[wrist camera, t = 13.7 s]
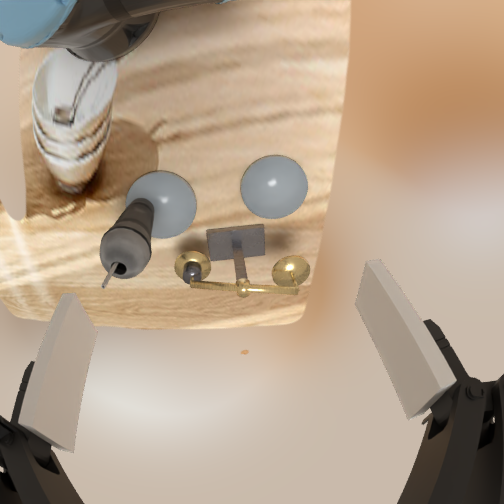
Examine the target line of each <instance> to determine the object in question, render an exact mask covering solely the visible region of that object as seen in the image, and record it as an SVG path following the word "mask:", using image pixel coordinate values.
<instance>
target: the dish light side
mask: <svg viewBox="0 0 504 504" xmlns="http://www.w3.org/2000/svg"><path fill="white" fill-rule="evenodd" d="M307 190H308V182H307V178H306V175H305V173H304V171H303V170H302V168H301V167H300V166H299V165H298V164H297V163H296V162H295V161H293V160H292V159H290V158H288V157H285V156H280V155H271V156H266V157H263V158H260V159H259V160H257V161H255V162H254V163H253V164H252V165H250V166H249V168H248V169H247V170H246V172H245V173H244V175H243V178H242V181H241V194H242V198H243V201H244V203H245V205H246V206H247V208H248V209H249V210H250V211H251V212H252V213H254V214H255V215H257V216H260V217H263V218H267V219H277V218H282V217H285V216H288V215H289V214H291V213H293V212H294V211H296V210H297V209H298V208H299V207H300V206H301V204H302V203H303V201H304V199H305V197H306V194H307Z"/></svg>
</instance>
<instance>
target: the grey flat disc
mask: <svg viewBox="0 0 504 504" xmlns="http://www.w3.org/2000/svg"><path fill="white" fill-rule="evenodd" d="M137 198H145V199H147V200H149V201H150V202H151V203H152V204H153V206H154V210H155V212H154V221H153V227H152V234H151V237H154V238H171V237H174V236H177V235H179V234H181V233H183V232H184V231H185V230H186V229H187V228H188V227H189V226H190V225H191V223H192V222H193V220H194V217H195V213H196V197H195V194H194V191H193V189H192V188H191V186H190V185H189V184H188V182H187V181H186V180H184V179H183V178H182V177H180V176H179V175H177V174H174V173H171V172H167V171H153V172H149V173H147V174H145V175H143V176H141V177H140V178H138V179H137V180H136V181H135V182H134V184H133V185H132V187H131V188H130V190H129V192H128V194H127V198H126V208H127V207H128V205H129V204H130V203H131V202H132V201H133V200H134V199H137Z"/></svg>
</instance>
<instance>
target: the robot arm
mask: <svg viewBox="0 0 504 504" xmlns="http://www.w3.org/2000/svg"><path fill="white" fill-rule="evenodd" d="M228 1H234V0H0V40H1V41H2V42H4V43H6V44H7V45H11V46H17V47H21V48H27V49H29V48H34V47H56V48H66V49H67V50H68V51H69V52H70V53H71V54H72V55H74V56H75V57H77V58H79V59H82V60H85V61H92V62H104V61H110V60H114V59H117V58H119V57H122V56H124V55H126V54H127V53H129V52H131V51H132V50H134V49H135V48H136V47H138V46H139V45H140V44H141V43H142V42H143V41H144V40H145V39H146V38H147V36H148V35H149V34H150V32H151V31H152V29H153V27H154V25H155V23H156V21H157V18H158V14H159V12H160V11H165V10H170V9H175V8H181V7H187V6H194V5H201V4H210V3H215V4H222V3H226V2H228ZM355 306H356V307H357V309H358V311H359V313H360V316H361V317H362V320H363V322H364V324H365V326H366V328H367V330H368V332H369V334H370V336H371V338H372V340H373V342H374V344H375V346H376V348H377V350H378V352H379V355H380V357H381V359H382V361H383V363H384V365H385V368H386V370H387V372H388V374H389V377H390V379H391V381H392V383H393V386H394V388H395V390H396V393H397V395H398V397H399V400H400V401H401V404H402V407H403V409H404V412H405V414H406V416H407V419H408V420H410V419H413V418H415V417H417V416H420V415H422V414H424V413H425V412H426V411H427V410H428V409H429V408H430V409H431V411H432V413H431V414H429V415H428V416H427V417H426V418H425V419H424V420H423V422H422V424H425V423H426V422H427V421H428V424H427V427H426V431H425V434H424V437H423V440H422V443H421V446H420V449H419V452H418V455H417V458H416V461H415V463H414V466H413V468H412V471H411V473H410V476H409V478H408V481H407V483H406V485H405V488H404V490H403V492H402V494H401V496H400V499H399V501H398V503H397V504H504V374H503V375H502V376H501V377H500V378H499V379H498V380H497V381H490V382H481V381H480V380H478V379H476V378H471V377H469V376H468V374H467V373H466V371H465V369H464V368H463V366H462V364H461V362H460V360H459V359H458V357H457V355H456V353H455V352H454V350H453V349H452V347H451V346H450V343H449V342H448V340H447V339H445V335H444V334H443V332H442V331H441V329H440V327H439V326H438V325H436V324H435V323H434V322H433V321H432V320H431V319H429V320H425V321H422V319H421V318H420V316H419V315H418V313H417V311H416V310H415V308H414V307H413V305H412V304H411V302H410V301H409V299H408V298H407V296H406V295H405V293H404V292H403V290H402V289H401V287H400V286H399V284H398V283H397V282H396V280H395V279H394V277H393V276H392V275H391V273H390V272H389V270H388V269H387V268H386V266H385V265H384V263H383V262H382V260H381V259H377V260H370V261H366V264H365V268H364V272H363V276H362V280H361V284H360V288H359V291H358V295H357V298H356V302H355ZM97 333H98V331H97V330H96V328H95V326H94V325H93V323H92V321H91V320H90V318H89V316H88V315H87V313H86V311H85V310H84V308H83V306H82V304H81V302H80V301H79V299H78V297H77V295H76V293H64V294H62V296H61V298H60V300H59V303H58V305H57V307H56V309H55V312H54V314H53V316H52V319H51V321H50V324H49V326H48V329H47V331H46V333H45V336H44V339H43V341H42V344H41V347H40V349H39V352H38V355H37V358H36V361H35V362H33V361H31V362H30V364H29V365H28V367H27V368H26V370H25V372H24V375H23V378H22V383H21V385H20V388H19V390H20V391H19V392H18V395H17V398H16V402H15V406H14V410H13V414H12V418H11V421H10V422H9V421H7V420H6V419H4V418H3V417H2V416H1V415H0V466H1V467H3V468H4V472H3V473H2V472H0V504H84V503H83V501H82V500H81V498H80V497H79V495H78V493H77V492H76V490H75V489H74V487H73V485H72V484H71V482H70V480H69V479H68V477H67V475H66V473H65V472H64V470H63V468H62V466H61V464H60V463H59V461H58V459H57V457H56V455H55V453H54V452H53V451H52V450H51V446H54V447H56V448H58V449H60V450H63V451H67V452H71V453H74V446H75V438H76V431H77V424H78V418H79V411H80V405H81V401H82V396H83V390H84V386H85V381H86V377H87V372H88V368H89V364H90V360H91V355H92V352H93V348H94V344H95V340H96V336H97ZM493 417H494V418H495V423H494V422H493Z"/></svg>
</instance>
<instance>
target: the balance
mask: <svg viewBox="0 0 504 504" xmlns="http://www.w3.org/2000/svg"><path fill="white" fill-rule="evenodd" d="M207 240H208V246H209V253H210V259H211V261H217V260H226V259H234V264H235V272H236V280H237V281H236V283H223V282H208V281H201V280H203V279H205V278H206V277H207V276H208V275H209V273H210V271H211V263H210V260H209V259H208V257H207V256H205V255H204V254H202V253H200V252H197V251H187V252H184V253H182V254H180V255H179V256H178V257H177V259H176V261H175V272H176V274H177V275H178V276H179V277H180V278H181V279H183V280H184V282H185V283H187V284H190V287H191V288H196V289H209V290H222V291H235V292H237V295H238V296H239V297H242V298H244V297H247V296H249V295H250V292H251V293H267V294H286V295H298V292H299V288H298V285H300V284H302V283H303V282H304V281H305V280H306V279H307V278H308V276H309V274H310V266H309V264H308V262H307V261H306V259H304V258H303V257H300V256H287V257H284V258H282V259H281V260H279V261H278V262H277V263H276V264H275V265H274V267H273V269H272V277H273V280H274V282H275V283H276V284H277V285H278V286H272V285H254V284H250V282H249V280H248V279H247V273H246V267H245V262H244V258H245V257H253V256H262V255H265V239H264V225H263V224H258V225H248V226H238V227H229V228H220V229H211V230H207Z"/></svg>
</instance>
